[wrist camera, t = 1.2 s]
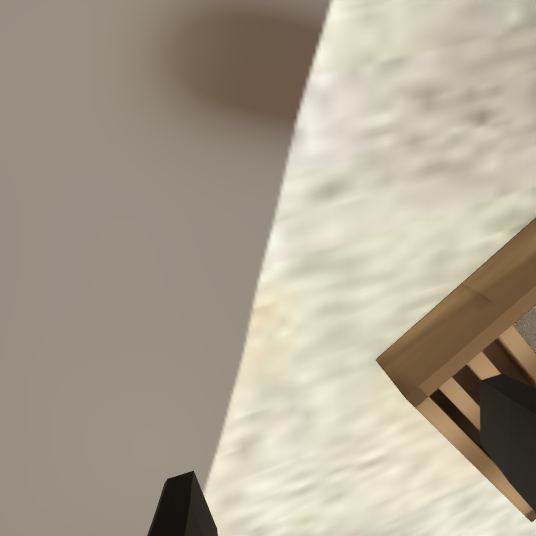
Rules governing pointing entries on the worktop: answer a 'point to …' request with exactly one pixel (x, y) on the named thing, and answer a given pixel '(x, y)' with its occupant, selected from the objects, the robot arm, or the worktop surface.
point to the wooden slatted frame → (471, 352)
